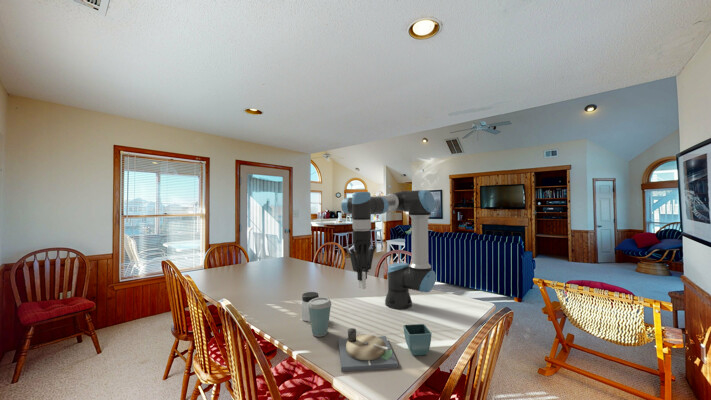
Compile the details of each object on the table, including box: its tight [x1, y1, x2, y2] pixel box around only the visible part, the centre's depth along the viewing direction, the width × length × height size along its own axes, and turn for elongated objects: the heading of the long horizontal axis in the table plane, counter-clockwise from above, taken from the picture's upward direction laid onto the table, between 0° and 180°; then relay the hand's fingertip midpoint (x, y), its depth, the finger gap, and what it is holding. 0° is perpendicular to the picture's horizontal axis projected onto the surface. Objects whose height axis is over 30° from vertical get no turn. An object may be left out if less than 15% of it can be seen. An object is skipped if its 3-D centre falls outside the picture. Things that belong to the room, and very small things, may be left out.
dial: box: [346, 327, 388, 360], centre depth 105 cm, size 17×15×6 cm
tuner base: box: [338, 335, 399, 372], centre depth 105 cm, size 20×20×2 cm
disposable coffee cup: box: [308, 296, 332, 338], centre depth 122 cm, size 11×11×15 cm
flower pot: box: [403, 323, 433, 356], centre depth 107 cm, size 9×9×9 cm
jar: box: [301, 291, 320, 323], centre depth 139 cm, size 9×8×12 cm
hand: (362, 287), depth 111 cm, fingers closed
